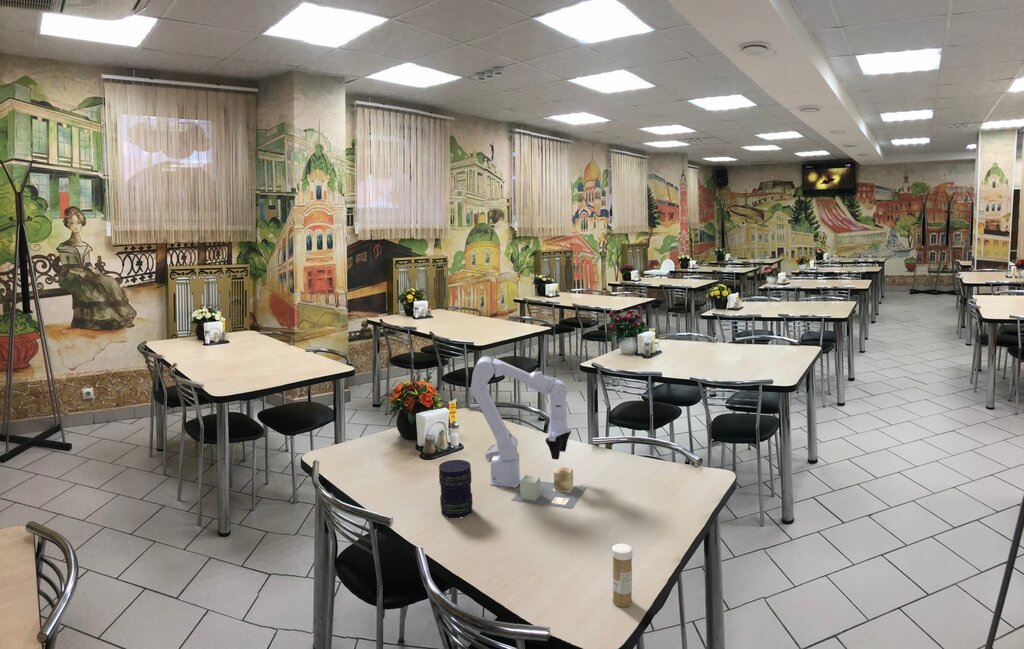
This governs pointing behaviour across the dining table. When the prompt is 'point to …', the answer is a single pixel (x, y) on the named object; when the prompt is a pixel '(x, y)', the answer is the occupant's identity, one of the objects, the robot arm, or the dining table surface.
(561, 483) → the maple block
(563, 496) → the slate mat
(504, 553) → the dining table surface
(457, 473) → the storage jar
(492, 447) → the stone block
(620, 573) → the sprinkles bottle
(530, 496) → the sage block
